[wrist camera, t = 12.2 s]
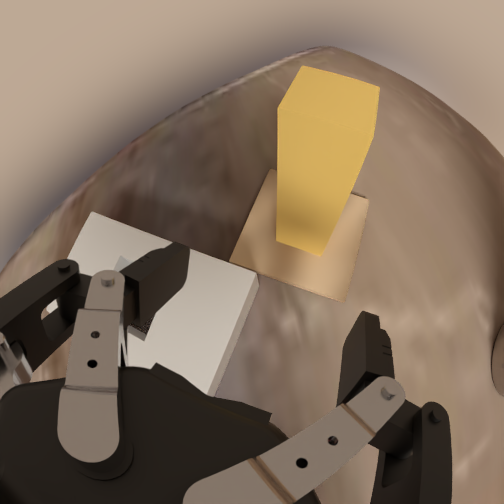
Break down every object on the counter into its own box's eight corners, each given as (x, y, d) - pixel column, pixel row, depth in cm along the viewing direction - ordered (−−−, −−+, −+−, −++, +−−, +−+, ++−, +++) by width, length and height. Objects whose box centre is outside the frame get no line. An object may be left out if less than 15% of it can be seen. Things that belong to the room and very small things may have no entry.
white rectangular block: (258, 286, 22) (256, 272, 19) (213, 398, 19) (201, 407, 16) (112, 229, 25) (91, 211, 22) (72, 317, 22) (46, 309, 19)
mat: (367, 203, 24) (369, 200, 24) (343, 302, 21) (344, 301, 21) (270, 172, 26) (270, 168, 26) (230, 263, 23) (229, 261, 23)
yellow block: (333, 216, 24) (379, 87, 10) (321, 256, 22) (373, 136, 9) (290, 202, 24) (302, 65, 11) (275, 240, 23) (277, 108, 10)
